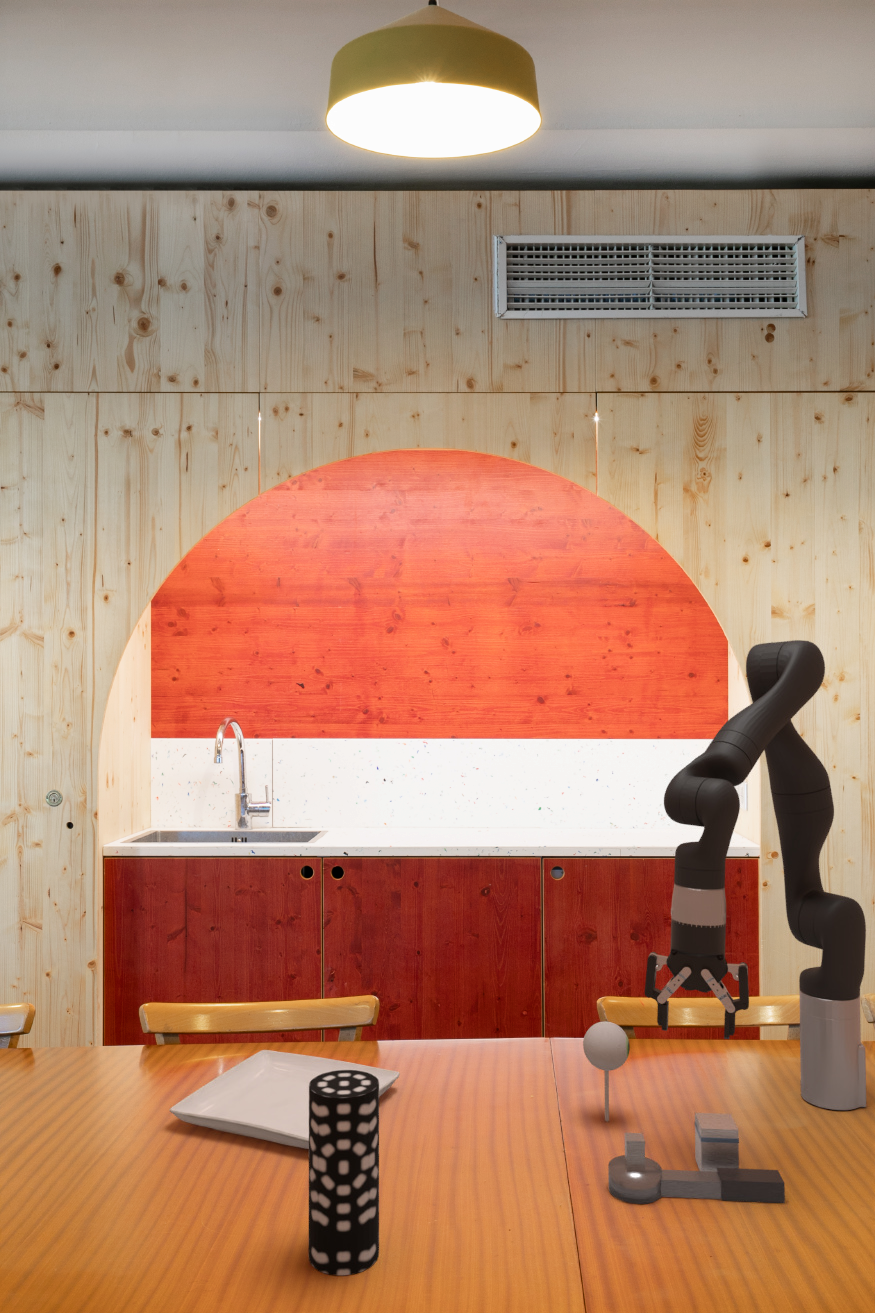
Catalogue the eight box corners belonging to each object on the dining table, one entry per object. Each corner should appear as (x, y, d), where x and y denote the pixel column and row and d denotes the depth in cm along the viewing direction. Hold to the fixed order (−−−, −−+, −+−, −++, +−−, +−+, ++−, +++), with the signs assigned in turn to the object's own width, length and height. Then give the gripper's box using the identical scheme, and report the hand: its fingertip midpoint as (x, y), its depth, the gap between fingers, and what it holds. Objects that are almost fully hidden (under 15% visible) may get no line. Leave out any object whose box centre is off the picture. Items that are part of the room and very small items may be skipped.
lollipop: (630, 1133, 147) (629, 1032, 148) (582, 1128, 149) (581, 1029, 149) (630, 1113, 154) (629, 1016, 155) (584, 1109, 156) (584, 1013, 156)
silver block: (731, 1160, 139) (731, 1114, 139) (739, 1178, 134) (738, 1130, 134) (694, 1159, 139) (694, 1112, 139) (701, 1177, 134) (700, 1128, 134)
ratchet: (774, 1183, 132) (773, 1130, 133) (788, 1210, 125) (787, 1155, 126) (606, 1176, 134) (606, 1124, 135) (610, 1203, 127) (610, 1148, 128)
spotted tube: (310, 1237, 120) (310, 1071, 120) (378, 1233, 120) (378, 1069, 121) (306, 1278, 111) (307, 1099, 112) (379, 1274, 112) (379, 1096, 113)
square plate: (165, 1133, 149) (165, 1107, 149) (263, 1068, 174) (263, 1046, 174) (323, 1166, 138) (323, 1138, 138) (402, 1092, 164) (402, 1068, 164)
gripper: (751, 918, 141) (748, 1033, 140) (650, 907, 146) (647, 1019, 145) (750, 928, 134) (747, 1049, 133) (644, 917, 138) (641, 1034, 138)
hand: (695, 1033), depth 139 cm, fingers open, 8 cm apart
